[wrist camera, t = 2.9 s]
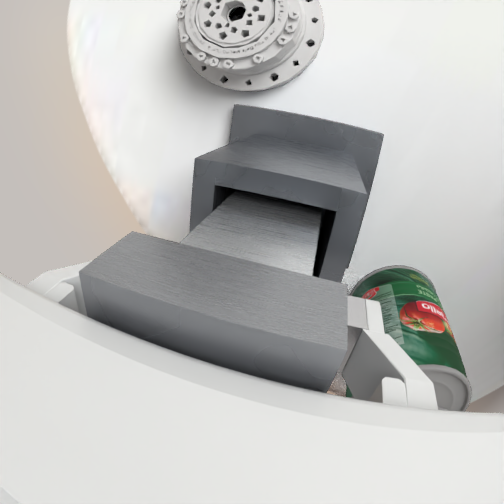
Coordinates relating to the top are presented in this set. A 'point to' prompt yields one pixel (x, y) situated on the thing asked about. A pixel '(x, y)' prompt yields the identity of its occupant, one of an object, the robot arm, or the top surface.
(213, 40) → the mechanical component
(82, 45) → the top surface
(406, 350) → the canned tomato
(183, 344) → the column
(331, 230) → the grey hollow housing
